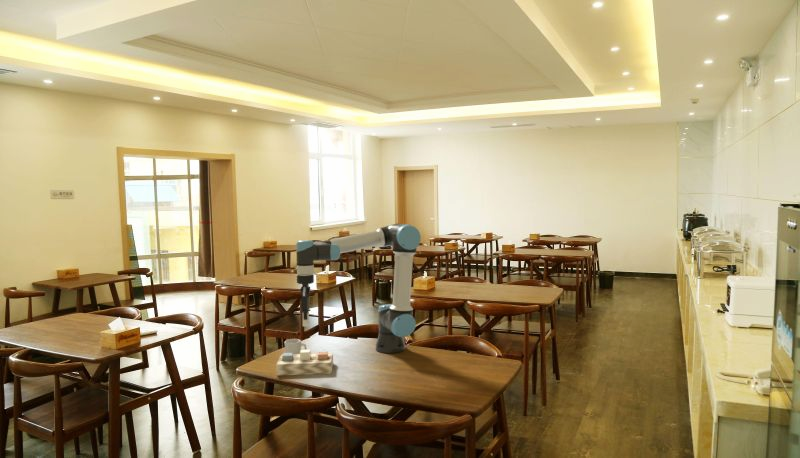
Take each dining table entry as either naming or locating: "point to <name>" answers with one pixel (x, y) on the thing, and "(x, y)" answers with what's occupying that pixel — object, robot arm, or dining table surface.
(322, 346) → the dining table surface
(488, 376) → the dining table surface
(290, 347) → the cup
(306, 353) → the key cream
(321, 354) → the key terracotta
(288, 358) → the key slate
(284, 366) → the console
